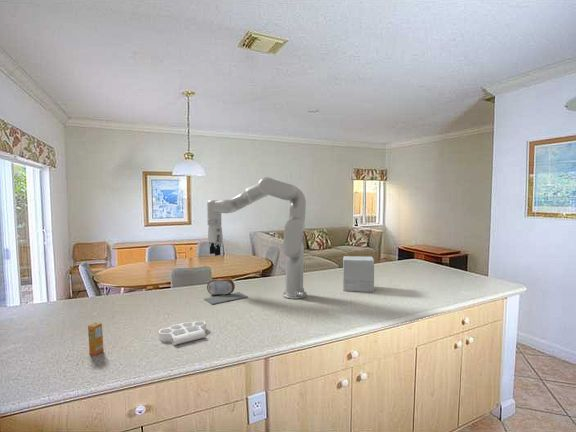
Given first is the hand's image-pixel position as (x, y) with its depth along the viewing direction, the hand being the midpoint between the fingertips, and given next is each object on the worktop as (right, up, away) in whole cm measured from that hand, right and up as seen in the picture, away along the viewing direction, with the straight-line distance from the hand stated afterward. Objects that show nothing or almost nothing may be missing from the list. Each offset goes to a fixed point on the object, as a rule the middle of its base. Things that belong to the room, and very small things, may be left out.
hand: (215, 254), depth 181 cm
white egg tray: (+1, -25, -56) cm, 62 cm away
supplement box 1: (-25, -26, -70) cm, 79 cm away
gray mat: (+8, -22, -10) cm, 26 cm away
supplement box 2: (+81, -21, +8) cm, 85 cm away
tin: (+4, -22, -5) cm, 23 cm away
